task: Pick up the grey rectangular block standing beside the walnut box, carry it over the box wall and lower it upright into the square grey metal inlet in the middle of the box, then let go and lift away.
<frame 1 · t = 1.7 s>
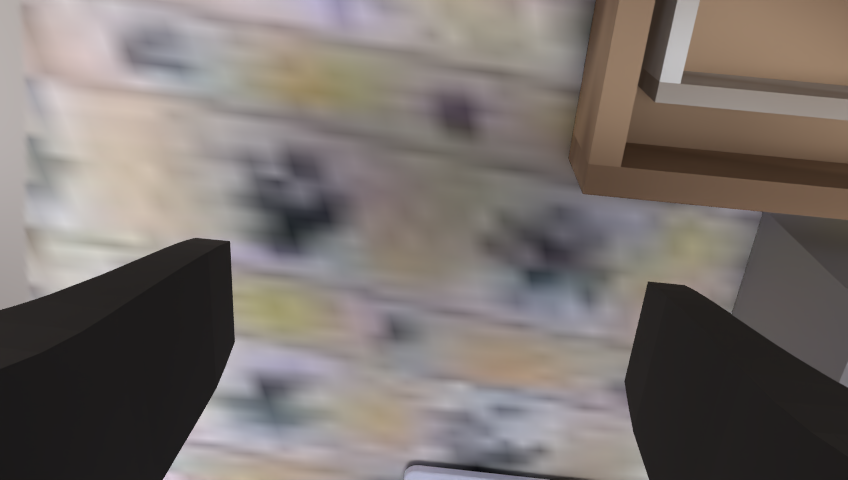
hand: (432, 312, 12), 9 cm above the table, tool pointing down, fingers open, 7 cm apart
grey rectangular block: (810, 275, 21), on the table
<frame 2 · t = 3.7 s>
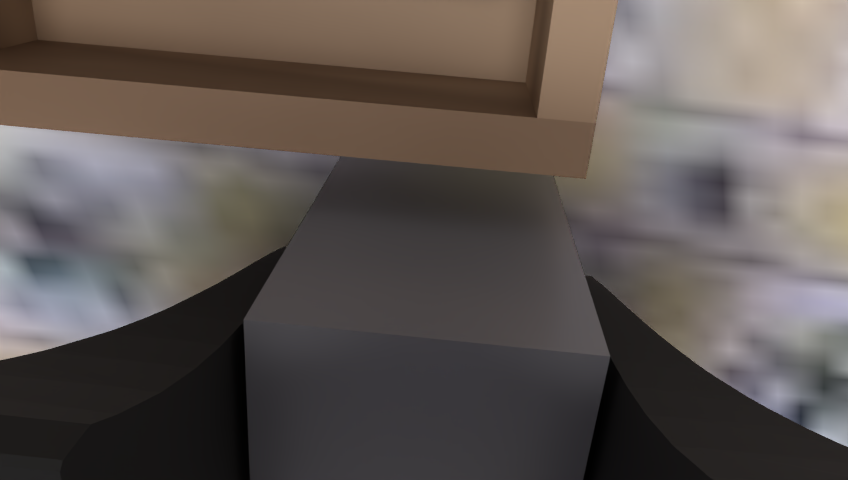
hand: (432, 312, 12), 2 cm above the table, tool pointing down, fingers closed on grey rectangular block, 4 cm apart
grey rectangular block: (437, 260, 14), on the table, touching gripper
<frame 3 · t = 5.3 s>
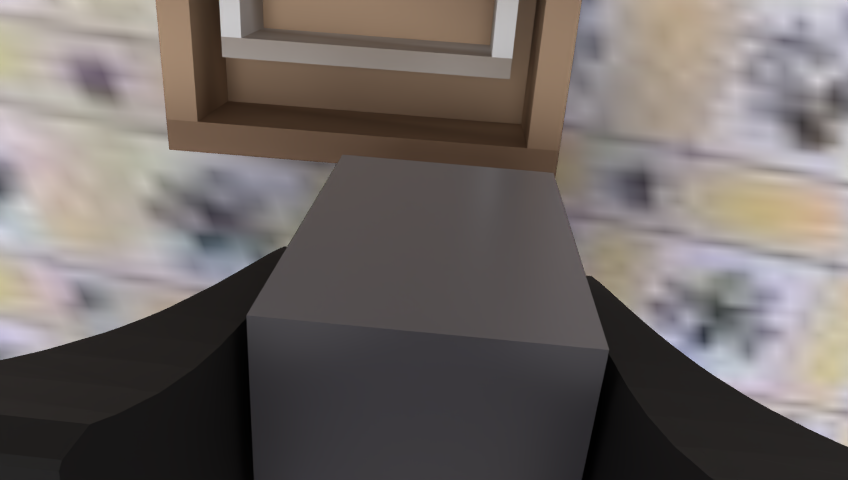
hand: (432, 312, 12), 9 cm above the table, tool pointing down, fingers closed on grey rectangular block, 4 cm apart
grey rectangular block: (439, 258, 14), point 7 cm above the table, touching gripper
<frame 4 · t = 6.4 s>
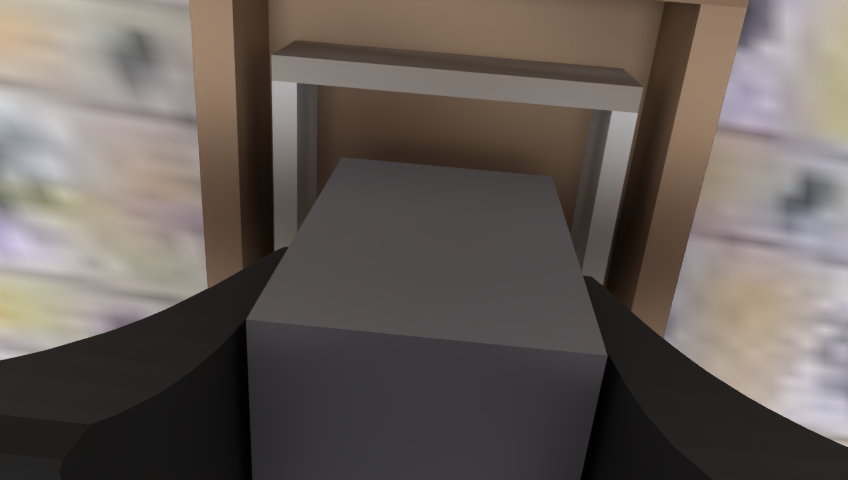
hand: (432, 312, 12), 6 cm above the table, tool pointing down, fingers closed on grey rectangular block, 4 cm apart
grey rectangular block: (437, 261, 14), point 4 cm above the table, touching gripper
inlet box: (445, 197, 17), on the table
when the fingers open (4 cm above the table, at t = 7.2 s): grey rectangular block stays where it is, resting on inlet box.
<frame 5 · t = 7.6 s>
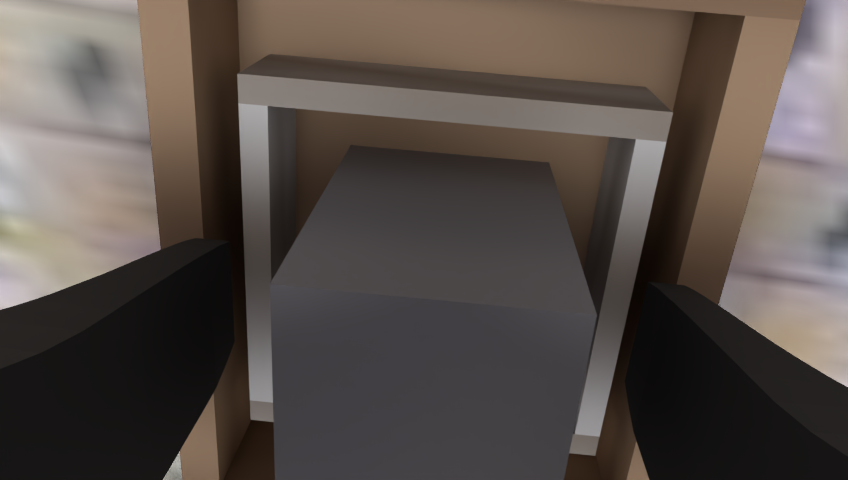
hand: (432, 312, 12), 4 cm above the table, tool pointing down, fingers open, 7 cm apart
grey rectangular block: (441, 243, 15), point 1 cm above the table, touching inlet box
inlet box: (441, 229, 15), on the table
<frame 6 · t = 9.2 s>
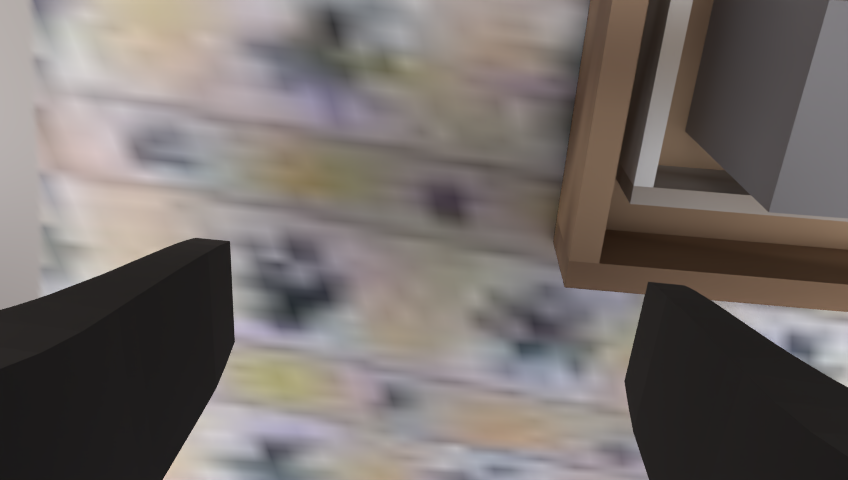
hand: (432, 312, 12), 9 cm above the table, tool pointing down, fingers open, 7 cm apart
grey rectangular block: (777, 63, 18), point 1 cm above the table, touching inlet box
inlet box: (768, 56, 19), on the table
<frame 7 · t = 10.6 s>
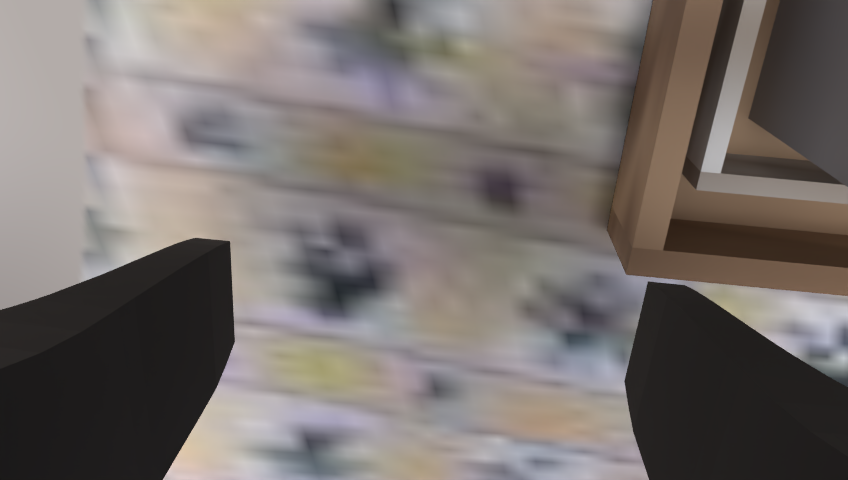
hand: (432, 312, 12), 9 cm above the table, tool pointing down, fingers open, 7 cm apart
grey rectangular block: (846, 49, 18), point 1 cm above the table, touching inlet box
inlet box: (834, 43, 18), on the table
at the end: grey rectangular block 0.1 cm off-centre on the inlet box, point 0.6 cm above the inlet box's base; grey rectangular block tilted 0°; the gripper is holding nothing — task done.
